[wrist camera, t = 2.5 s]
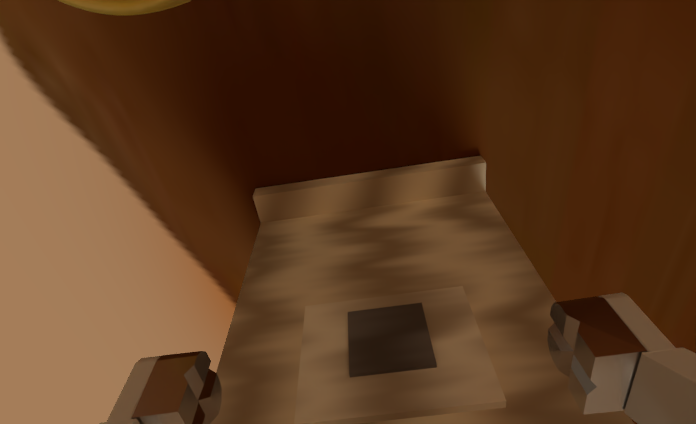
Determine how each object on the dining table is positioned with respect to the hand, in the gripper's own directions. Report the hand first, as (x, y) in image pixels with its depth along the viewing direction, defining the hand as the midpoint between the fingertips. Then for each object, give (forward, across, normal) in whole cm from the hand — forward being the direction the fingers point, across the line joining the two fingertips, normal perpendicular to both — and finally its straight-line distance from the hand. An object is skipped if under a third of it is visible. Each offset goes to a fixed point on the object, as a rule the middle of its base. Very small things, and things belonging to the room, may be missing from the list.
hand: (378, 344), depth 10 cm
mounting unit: (+20, 0, +10) cm, 22 cm away
